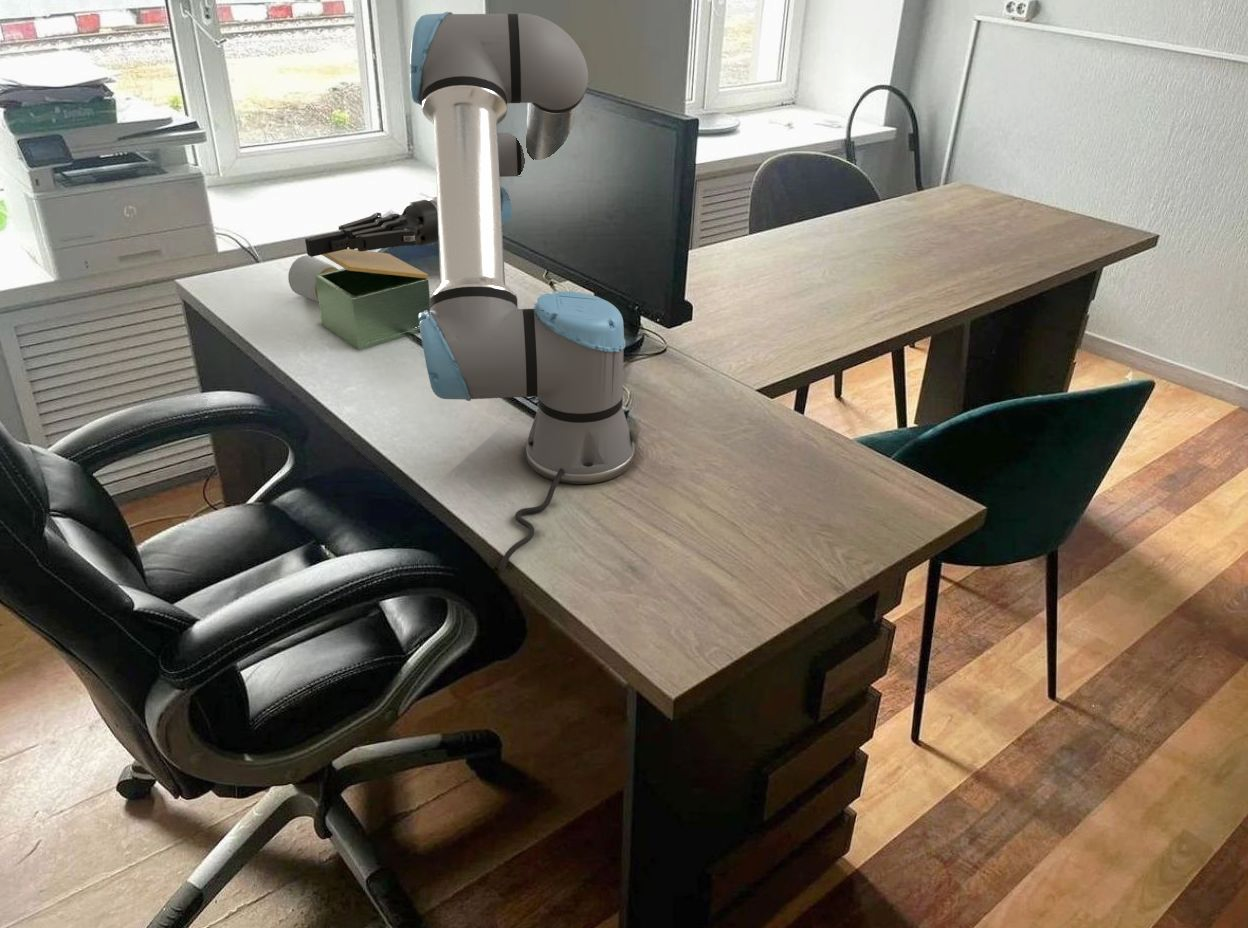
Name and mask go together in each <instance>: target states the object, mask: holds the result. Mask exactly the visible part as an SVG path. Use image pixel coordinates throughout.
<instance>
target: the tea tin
mask: <svg viewBox="0 0 1248 928" xmlns="http://www.w3.org/2000/svg"><path fill="white" fill-rule="evenodd" d="M315 281H316V287H317V294H318V301H319V302H318V306H319V307H318V308H319V314H320V320H321V326H323V327H325V329H328V330H329V331H331V332H332V333H334V334H335V335H336V336H338V337H339V338H341V339H342V340H343V341H345V342H346V343H348V344H350V345H351V346H352V347H354V348H355V349H357V350H358V351H360V350H363V349H366V348H369V347H372V346H376V345H380V344H383V343H387V342H391V341H394V340H398V339H401V338H404V337H407V336H410V335H414V334H417V333H420V327H418V326H419V319H418V315H419V314H420V313H421V312H424V311H425V310H427V311H430V304H429V299H430V296H431V295H430V293H431V292H430V281H429V278H428V279H426V278H417V277H407V276H397V275H388V274H378V273H368V272H358V271H349V270H346V269H345V268H340V269H339V270H335V271H331V272H327V273H323V274H319V275H315ZM415 327H417V328H415ZM413 328H414V329H413Z"/></svg>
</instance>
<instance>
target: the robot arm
mask: <svg viewBox="0 0 1248 928" xmlns="http://www.w3.org/2000/svg"><path fill="white" fill-rule="evenodd" d="M410 43H411V46H410V55H409V56H410V57H409V67H410V70H409V88H410V95H411V99H412V101H413V103H415V104H416V105H417V104H418V105H420V106H422V107H421V109H422V114H423V116H424V118H426V119H427V120H428V121H429V122H430V123H431V124H433V129H434V130H433V131H434V156H435V176H436V177H435V182H436V184H435V185H436V196H434V197H430V198H428V199H420V200H418V201H412V202H408V203H407V204H406V205H405V207H404V209H403V211H402V213H401V214H399V213H392V214H389V215H387V216H383V217H382V213H381V212H374V213H373V214H372V215H370V216H366V217H363V218H359V219H357V220H353V221H350V222H348V223H347V222H346V223H345V224H341V225H338V231H335V232H329V233H325V234H321V235H315V236H311V237H307V238H304V243H305V247H306V255H309V256H311V257H317V256H323V255H322V254H327V253H331V252H336V251H340V250H345V249H354V250H358V251H361V252H362V251H374V250H381V249H388V248H389V249H390V248H397V247H405V246H407V247H408V246H410V247H411V246H412V247H413V246H420V247H421V246H426V245H430V244H434V243H437V242H438V260H439V261H438V262H439V281H440V282H439V285H440V286H439V287H438V288H437V289H436V290H435V291H434V292H433V293H432V294H431V295H430V299H429V304H430V311H427V310H425V311H424V312H421V313H420V314H419V315H418V319H419V326H420V332H419V333H420V338H421V344H422V350H423V353H424V354H423V355H424V360H425V366H426V370H427V375H428V380H429V383H430V387H431V390H432V392H433V394H434V395H435V396H437V397H438V398H439V399H442V400H466V401H467V402H471V401H472V400H481V399H484V400H485V399H507V398H533V397H537V410H536V413H535V416H534V419H533V422H532V425H531V428H530V431H529V434H528V436H527V437H528V438H527V440H526V447H525V448H526V449H525V451H526V461H527V463H528V465H529V467H530V468H531V469H532V470H533V471H534V472H535V473H537V474H538V475H540V476H542V477H544V478H546V479H549V480H552V482H551V484H550V487H549V489H548V492H547V495H546V498H545V500H544V501H543V502H542V503H541V504H540V505H537V506H532V507H525V508H521V509H519V510H517V511H516V512H515V515H514V519H515V521H516V522H517V523H518V524H520V525H521V526H523V527H524V528H526V529H527V530H528V533H527V534H526V536H525V537H523V538H521V539H520V540H519V541H517V542H515V543H514V544H512V546H511V547H510V548H508V550H506V552H505V553H504V555H503V557H502V558H501V561H500V563H499V567H498V572H500V573H501V572H504V571H505V570H506V568H507V564H508V563H509V560H510V558H511V556H513V554H514V553H515V552H516V551H517V550H518V549H520V548H521V547H523V546H524V545H526V544H527V543H529V542H530V541H531V540H532V539H533V538H534V535H535V527H534V525H532V523H531V522H529V521H527V520H526V519H524V518H523V517H521V516H522V515H527V514H536V513H540V512H542V511H544V510H545V509H547V508H548V506H549V505H550V504H551V502H552V500H553V497H554V493H555V491H556V489H557V487H558V485H559V483H564V484H570V485H571V484H572V485H586V484H589V485H590V484H596V483H601V482H606V481H609V480H612V479H614V478H617V477H619V476H620V475H623V474H624V473H625V472H626V471H628V470H629V469H630V468H631V466H632V465H633V463H634V459H635V445H636V446H638V442H639V441H638V440H639V439H638V438H639V436H638V435H637V434H636V433H634V432H633V431H632V430H630V428H629V424H628V420H627V418H626V414H625V412H624V407H623V403H624V402H623V399H624V398H623V397H624V396H623V394H624V350H625V348H626V339H625V332H624V331H625V330H624V329H625V328H624V319H623V318H624V317H623V315H622V313H621V311H619V309H618V308H617V307H616V306H615V305H614V304H612V303H611V302H609V301H608V300H605V299H603V298H601V297H600V296H596V295H593V294H590V293H585V292H579V291H572V290H571V291H570V290H557V291H552V292H551V293H544V294H542V295H540V296H538V298H537V299H536V300H535V303H534V305H533V308H519V306H518V297H517V294H516V293H515V292H514V291H513V290H512V289H510V288H509V287H508V286H507V285H506V274H505V257H504V256H505V255H504V253H505V252H504V234H503V227H504V226H505V225H507V224H508V223H509V222H510V221H511V219H512V217H511V215H512V216H513V213H512V205H513V204H512V205H511V202H512V201H511V198H510V199H509V195H510V194H509V195H508V193H509V192H508V191H507V192H508V193H507V192H506V190H507V189H506V188H505V187H504V186H502V185H501V178H502V177H507V178H508V177H519V176H518V175H520V174H521V172H522V171H523V168H524V164H525V158H524V153H523V149H522V146H521V145H520V143H519V141H518V140H517V138H516V137H515V136H513V135H512V134H510V133H511V132H498V124H500V123H501V122H502V121H504V119H505V118H506V117H507V114H508V104H527V114H526V115H527V117H526V132H527V134H526V148H527V153H528V154H529V156H530V157H531V158H532V159H533V160H534V159H535V160H542V159H545V158H547V157H550V156H551V155H552V154H554V153H555V152H556V151H557V150H558V149H559V148H560V147H561V146H562V145H563V144H564V142H565V141H566V139H567V137H568V135H569V134H570V131H571V129H572V130H573V127H572V125H573V126H574V121H575V116H576V109H577V107H578V106H579V104H580V103H582V101H583V100H584V97H585V94H586V92H587V87H588V81H589V71H588V66H587V62H586V58H585V57H584V54H583V52H582V50H581V48H580V47H579V46H578V44H577V43H576V41H575V40H574V39H573V38H572V37H571V36H570V34H568V33H567V32H566V31H565V30H564V29H563V28H562V27H560V26H559V25H557V24H556V23H554V22H552V21H551V20H549V19H547V18H544V17H542V16H541V15H540V16H539V15H536V14H531V13H525V12H524V13H521V12H518V13H453V12H452V11H445V12H443V13H428V14H427V13H426V14H424V15H422V16H420V17H419V18H418V20H417V21H416V22H415V24H414V26H413V31H412V36H411V42H410ZM501 186H502V187H501ZM503 187H504V188H505V189H506V190H505V189H504V188H503ZM510 201H511V202H510ZM510 218H511V219H510ZM509 220H510V221H509Z"/></svg>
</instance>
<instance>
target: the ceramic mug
mask: <svg viewBox="0 0 1248 928" xmlns="http://www.w3.org/2000/svg"><path fill="white" fill-rule="evenodd" d="M335 270H340V269H339V268H337V266H336V267H335V266H334V265H332V264H330V263H328V262H325V261H323V260H321V259H319V258H317V257H316V256H314V257H311V256H309V255H307V254H306V255H301V256H299V257H297V258H296V259H295V260H294V261H293V262H292V264H291V265H290V268H289V270H288V276H287V277H288V278H287V279H288V284H289V287H290V289H291V290H292V291H293V292H294V293H295V294H296V295H299V296H301V297H304V298H306V299H310V300H312V301H315V302H317V303H319V301H318V294H317V287H316V281H315V275H319V274H323V273H327V272H331V271H335Z"/></svg>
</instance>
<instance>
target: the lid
mask: <svg viewBox="0 0 1248 928" xmlns="http://www.w3.org/2000/svg"><path fill="white" fill-rule="evenodd" d="M321 256H323V257H324V258H325V259H327V260H330V261H331V262H333V263H335V264H336V265H338V266H339V267H340V268H342V269H344V268H345V269H346V270H349V271H358V272H368V273H378V274H388V275H397V276H407V277H417V278H426V279H428V280H429V274H428V273H426V272H425V271H422V270H420V269H419V268H416V267H415V266H413V265H411V264H409V263H407V262H406V261H403V260H401V259H400V258H398V257H396V256H394V255H392V254H390V253H387V252H379V251H372V250H368V251H362V252H361V251H358V249H349V248H347V249H345V250H340V251H336V252H331V253H327V254H322V255H321Z"/></svg>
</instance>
